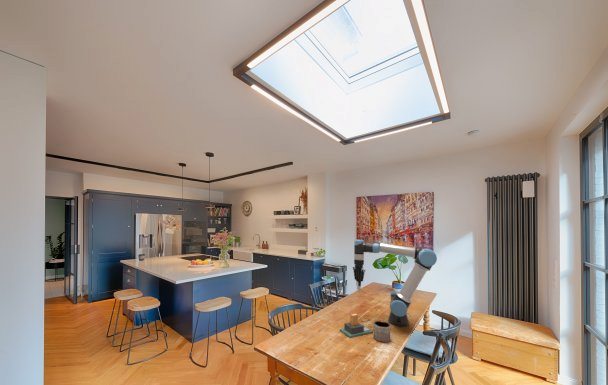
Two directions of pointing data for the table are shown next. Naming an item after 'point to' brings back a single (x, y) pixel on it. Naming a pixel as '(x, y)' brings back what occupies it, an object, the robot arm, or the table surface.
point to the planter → (382, 331)
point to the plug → (353, 320)
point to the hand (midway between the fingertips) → (358, 289)
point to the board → (355, 330)
